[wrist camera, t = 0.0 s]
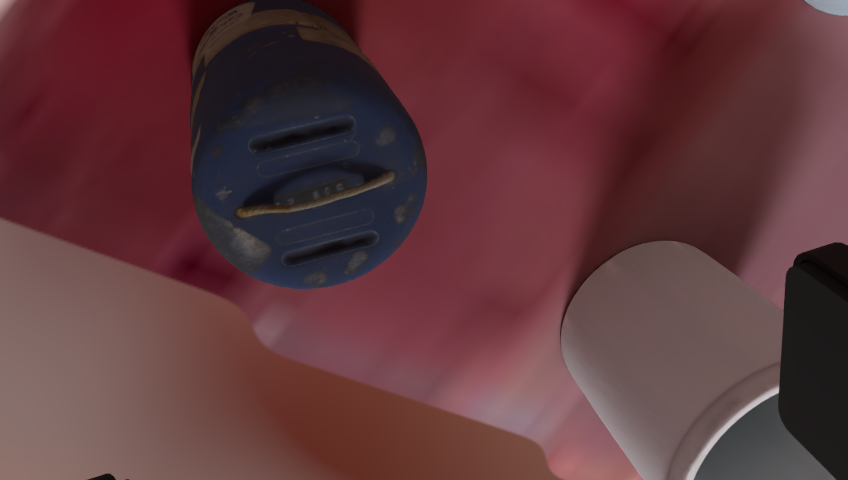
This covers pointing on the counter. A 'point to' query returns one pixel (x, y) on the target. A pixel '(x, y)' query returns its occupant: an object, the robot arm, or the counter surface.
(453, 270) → the counter surface
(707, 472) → the utensil holder
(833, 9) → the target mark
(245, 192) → the blue cylindrical canister
